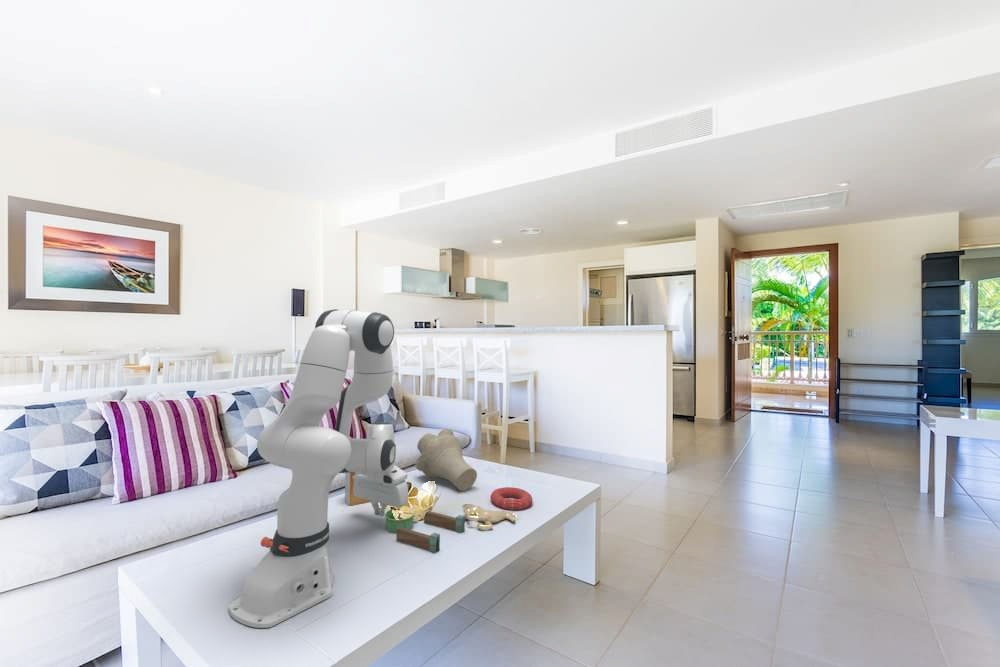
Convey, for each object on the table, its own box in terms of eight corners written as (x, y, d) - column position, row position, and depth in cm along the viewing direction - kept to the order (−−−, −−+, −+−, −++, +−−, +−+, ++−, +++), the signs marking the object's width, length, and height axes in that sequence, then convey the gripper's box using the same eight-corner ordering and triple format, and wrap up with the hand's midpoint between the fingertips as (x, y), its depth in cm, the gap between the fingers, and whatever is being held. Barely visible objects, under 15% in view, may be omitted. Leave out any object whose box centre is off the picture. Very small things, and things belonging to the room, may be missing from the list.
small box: (349, 506, 155) (349, 469, 155) (344, 500, 160) (345, 464, 160) (372, 501, 159) (373, 465, 159) (367, 495, 165) (367, 460, 164)
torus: (540, 506, 159) (541, 496, 159) (509, 515, 151) (509, 505, 150) (512, 492, 172) (512, 482, 172) (482, 500, 163) (482, 490, 163)
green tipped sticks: (435, 553, 124) (435, 537, 124) (395, 541, 131) (396, 526, 131) (464, 530, 138) (464, 516, 138) (427, 520, 145) (427, 507, 144)
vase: (503, 454, 173) (460, 422, 195) (455, 455, 157) (415, 420, 179) (485, 509, 175) (445, 471, 197) (436, 515, 159) (399, 473, 182)
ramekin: (384, 522, 143) (384, 509, 143) (413, 519, 145) (413, 506, 145) (385, 535, 134) (385, 521, 134) (415, 532, 137) (415, 518, 137)
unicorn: (444, 505, 148) (480, 494, 161) (444, 517, 148) (480, 506, 160) (488, 523, 134) (524, 510, 147) (488, 536, 134) (523, 522, 147)
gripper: (348, 469, 145) (348, 511, 145) (398, 480, 136) (397, 525, 136) (362, 464, 151) (362, 505, 151) (411, 474, 142) (410, 517, 142)
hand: (379, 514), depth 144 cm, fingers closed
